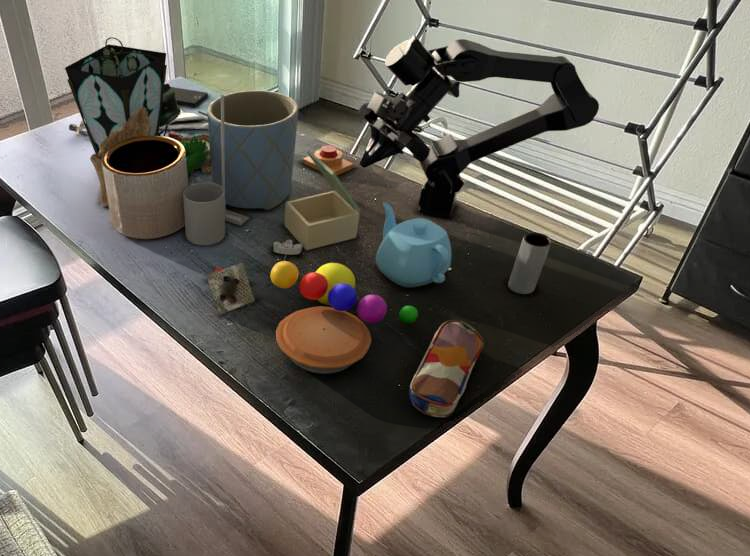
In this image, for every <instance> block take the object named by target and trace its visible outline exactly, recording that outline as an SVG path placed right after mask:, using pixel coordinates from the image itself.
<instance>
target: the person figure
mask: <svg viewBox="0 0 750 556" xmlns="http://www.w3.org/2000/svg"><path fill="white" fill-rule="evenodd" d="M68 130H69V131H71V132H75V135H76V136H79V134H81V135H88V133H87V131H86V128H85V125H84V122H83V120H82V119H81V121H80V122H79V125H78V124H76V123H69V124H68Z"/></svg>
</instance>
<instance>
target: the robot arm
mask: <svg viewBox="0 0 750 556" xmlns="http://www.w3.org/2000/svg"><path fill="white" fill-rule="evenodd" d="M384 65H385V67H386V68H387V69H388V70H389V71H390V72H391V73H392V74H393V75H394V76H395V77H396V78H397V79H398V80H399V81H400V82H401V83H402V84H403V85H404V86H412V87H411V88H410V90H409V91H408V92H407V93H406V94H405V93H404V92H401V93H399V94H397V96H396V97H393V96H391V95H388V94H384V93H382V92H378V91H376V90H375V91H374V92H373V94H372V97H371V98H370V100H369V102H365V103H362V105H361V106H360V107H359V108H358V109H357V113H359V115H360V116H361V117H362V118H363V119H364V120H365V121H366V122H367V123H368V124H369V128H370V139H369V141H368V143H367V146H366V148H365V150H364V152H363V155H362V157H361V159H360V161H359V165H360V167H362V168H363V169H365V168H367V167H370V166H372V165H374V164H377V163H378V162H380V161H381V162H382V161H383V160H385V159H388V158H390V157H393V156H396V155H399V154H400V155H403V154H404V153H405V152H404V151H403V150H404V149H405V148H406V149H407V150H409V152H410V153H411V154H412V157H413V159H415V160H417V161H418V162H419V165H420V166H421V169H422V171H423V173H424V175H425V177H426V179H427V180H426V181H425V183H423V185H422V188H421V191H420V195H419V199H418V206H419V209H418V213H420V214H426V215H430V216H435V217H441V218H445V219H449V218H450V217H451V215H452V213H453V210H454V208H455V206H456V198H457V195H458V194H457V193H459V192H460V191H461V189H462V188H463V187H464V185H465V182H464V180H463V178H462V177H461V175H460V174H462V172H463V171H464V170H466V169H467V168H468V166H469V165H470V164H472V163H473V162H476V161H478V160H481V159H483V158H485V157H488V156H490V155H493V154H495V153H497V152H500V151H502V150H504V149H507V148H509V147H512V146H515V145H517V144H519V143H522V142H525V141H527V140H529V139H532V138H534V137H537V136H539V135H541V134H544V133H547V132H564V131H571V130H573V129H577V128H582V127H584V126H587V125H588V124H590V123H591V122H594V119H595V117H596V116H597V114H598V112H599V109H600V104H599V101H598V100H597V98H596V97H594V96H593V95H592V94H591V93H590V92H589V90H587V89H586V87H585V86H584V83H583V82H582V80H581V79H580V76H579V74H578V72H577V69H576V65H574V64H573V63H572V61H570V60H569V59H568V58H567V57H566V56H563V55H557V56H553V55H540V54H532V53H531V54H530V53H522V52H511V51H502V50H501V51H500V50H496V49H492V48H491V47H488V46H487V45H483V44H481V43H479V42H476V41H472V40H468V39H464V38H463V39H462V38H461V39H456V40H454V42H452V43H450V44H449V45H446V46H442V47H437V48H433V49H429V50H428V49H426V47H425V46H424V45H423V43H422V42H421V40H420V39H419V38H418V37H417V36H416V35H412V37H410V39H407V40H404V41H403V42H400V43H399V44H396V45H395V47H393V48H392V50H390V52H389V53H388V55H387V56H386V58H385V61H384ZM436 70H437V71H436ZM450 77H451V78H452V79H453V80H452V79H450ZM489 78H502V79H510V80H521V81H529V82H531V81H532V82H539V83H550V86H551V89H552V91H553V94H551V95H549V96H548V97H547V98H546V99H545V100H544V101H543V102H542V103H541V104H540V106H538V107H536V108H535V109H533V110H530V111H528V112H526V113H523V114H520V115H519V116H516V117H513V118H511V119H509V120H507V121H504V122H501V123H499V124H497V125H495V126H493V127H490V128H487V129H485V130H484V131H480V132H478V133H476V134H473V135H471V136H468V137H465V138H464V139H454V137H453V136H452V134H447V135H445V136H443V137H441V138H440V139H437V140H431V141H430V142H429V143H430V144H428V145H427V143H425V142H424V140H423V139H422V138H421V137H420V136H419V135H417V133H414V130H415V129H416V128H418V126H419V125H420V124H421V123H422V122H425V123H428V122H430V120H431V117H430V116H429V114H430V113H431V112H432V111H433V110H434V109H435V108H436V107H437V105H438V104H439V103H440V102H441V101H442V100H443V99H444V98H445V97H446V96H447V94H448V95H449V96H451V97H453V98H459V97H460V85H461V83H467V82H479V81H484V80H486V79H489Z"/></svg>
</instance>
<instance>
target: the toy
mask: <svg viewBox="0 0 750 556" xmlns="http://www.w3.org/2000/svg"><path fill="white" fill-rule="evenodd" d="M196 136H197V135H192V136H191V137H192V138H191V140H190V141H183V142H180V143H181V144H182V145H183V146H184V148H185V152H186V164H187V174H188V179H191V178H193V179H194V181H193V184H196V183H203V180H202V179H201V177H197V176H196V175H195V173H194V170H198V169H201V168H200V167H201V166H202V165H203V164H204V162H205V160H206V158H207V155H208V154H209V152H208V151H205V147H206V141H205V142H203V143H202V140H200V141H199V142H198V140H197V138H196Z"/></svg>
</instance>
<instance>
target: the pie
mask: <svg viewBox="0 0 750 556" xmlns="http://www.w3.org/2000/svg"><path fill="white" fill-rule="evenodd" d="M275 338H276V339H275V340H276V342H277V344H278V346H279V349H280V350H281V351H282V352H283V353H284V354H285V355H286V356H287V357H289V359H290V360H291V361H292V362H293V363H294V364H295V365H296V366H297V367H299V368H301V369H302V370H305V371H307V372H310V373H313V374H319V375H320V374H321V375H329V374H330V375H331V374H335V373H338V372H342V371H344V370H345V369H347V368H349V367H350V366H352V365H353V364H355V363H356V362H358V361H360V360H362V359H363V358H364V357H365V356H366V353H367V352H368V351H369V349H370V346H371V344H372V336H371V331H370V330H369V328H368V326H367V325H366V324H365V323H364V322H363V320H362V319H361V318H360V317H358V316H357V315H354V314H352V313H350V312H348V311H338V310H335V309H334V308H332V307H331V306H325V305H324V306H323V305H319V306H318V305H317V306H312V307H307V308H303V309H300V310H295V311H294V312H292V313H291V314H289V315H287V316H285V317H284V318H283V319H282V320H281V321H280V322H279V323H278V326H277V327H276V330H275Z"/></svg>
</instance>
